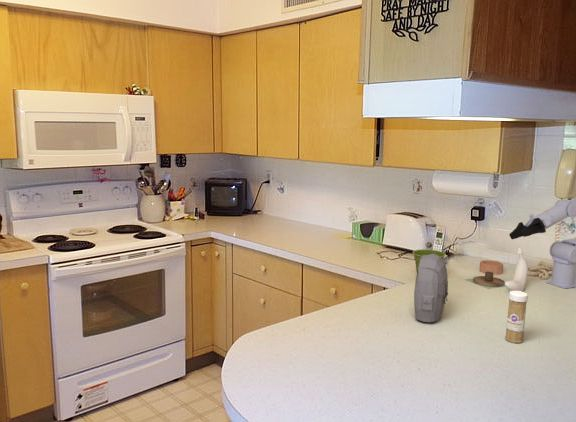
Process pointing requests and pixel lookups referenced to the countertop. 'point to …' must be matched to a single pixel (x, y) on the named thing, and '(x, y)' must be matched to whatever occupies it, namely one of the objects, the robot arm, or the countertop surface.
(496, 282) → the lid
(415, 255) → the plant pot
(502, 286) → the mat
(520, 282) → the white curved piece
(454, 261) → the countertop surface
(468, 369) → the countertop surface
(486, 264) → the bowl
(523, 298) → the sprinkles bottle
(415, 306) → the soft grey pack
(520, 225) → the robot arm
